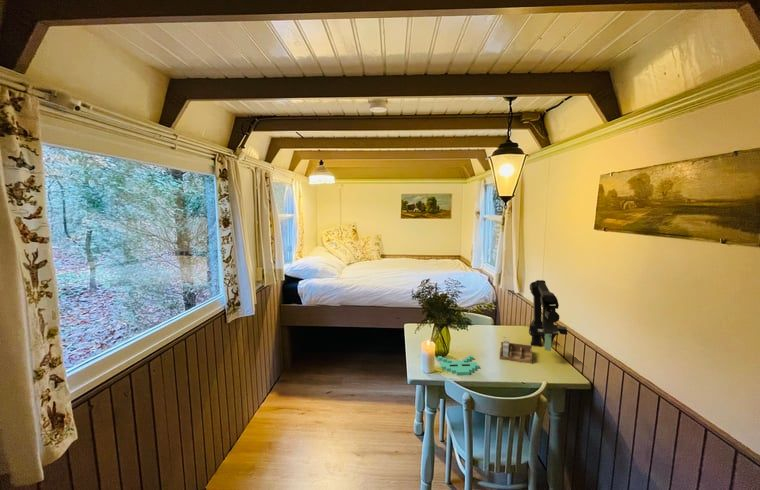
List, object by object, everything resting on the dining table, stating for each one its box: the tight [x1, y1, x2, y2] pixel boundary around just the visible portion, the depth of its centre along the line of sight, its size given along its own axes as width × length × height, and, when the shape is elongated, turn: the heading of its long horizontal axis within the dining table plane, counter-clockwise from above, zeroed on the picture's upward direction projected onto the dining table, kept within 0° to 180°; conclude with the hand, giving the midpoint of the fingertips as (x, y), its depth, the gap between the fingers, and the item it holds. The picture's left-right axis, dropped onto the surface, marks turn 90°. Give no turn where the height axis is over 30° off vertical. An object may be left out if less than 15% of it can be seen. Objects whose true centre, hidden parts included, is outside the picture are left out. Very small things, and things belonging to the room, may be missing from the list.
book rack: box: [499, 338, 533, 365], centre depth 196 cm, size 14×17×8 cm
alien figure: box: [437, 354, 480, 376], centre depth 185 cm, size 20×2×20 cm
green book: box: [543, 333, 552, 352], centre depth 188 cm, size 10×3×8 cm, turn 156°
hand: (547, 343), depth 188 cm, fingers closed on green book, 3 cm apart
